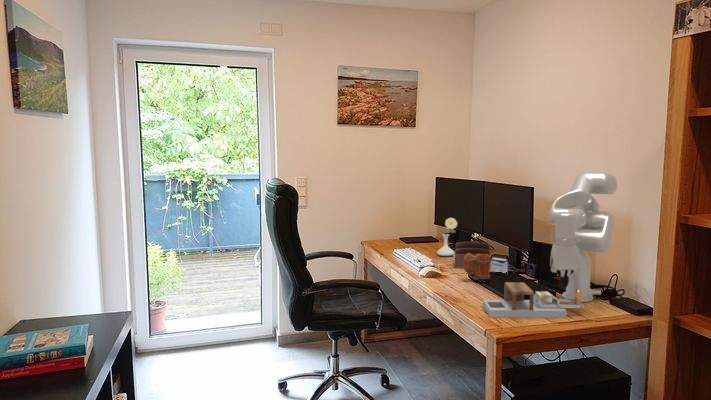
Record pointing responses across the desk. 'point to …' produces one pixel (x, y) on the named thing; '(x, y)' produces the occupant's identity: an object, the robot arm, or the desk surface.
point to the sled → (556, 301)
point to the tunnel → (517, 293)
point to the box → (499, 265)
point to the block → (544, 297)
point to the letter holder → (471, 248)
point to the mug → (477, 265)
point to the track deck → (520, 310)
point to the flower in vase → (445, 249)
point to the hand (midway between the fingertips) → (564, 285)
